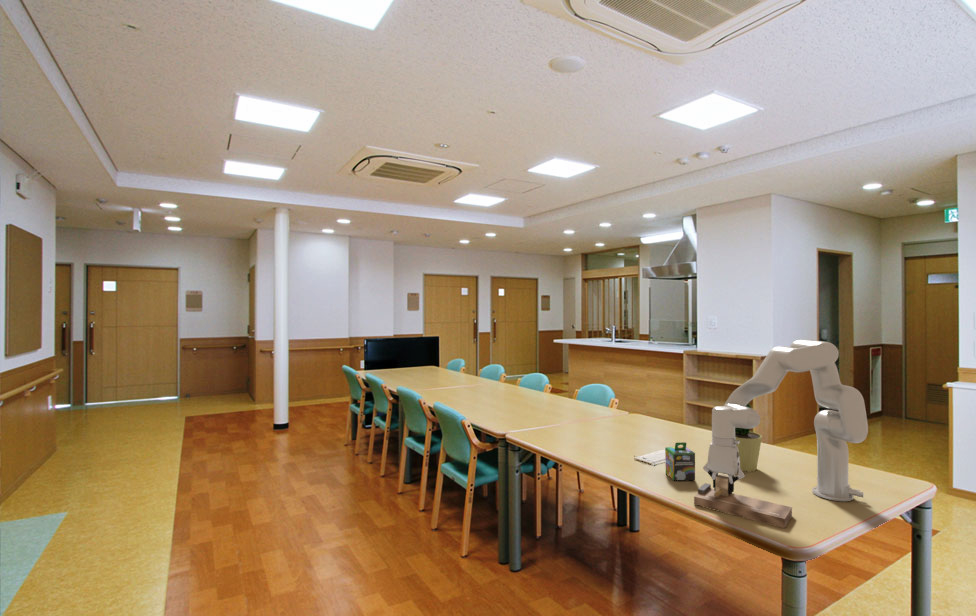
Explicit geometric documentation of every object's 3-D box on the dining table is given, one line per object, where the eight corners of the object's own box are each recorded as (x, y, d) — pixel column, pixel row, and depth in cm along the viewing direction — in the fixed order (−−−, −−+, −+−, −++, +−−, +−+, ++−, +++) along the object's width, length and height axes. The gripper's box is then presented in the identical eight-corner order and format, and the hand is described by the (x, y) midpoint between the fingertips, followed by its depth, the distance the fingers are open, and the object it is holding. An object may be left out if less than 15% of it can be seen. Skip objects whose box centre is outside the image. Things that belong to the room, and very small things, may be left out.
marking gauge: (732, 497, 178) (732, 475, 178) (722, 507, 169) (722, 483, 169) (720, 494, 180) (720, 473, 180) (710, 503, 171) (710, 481, 171)
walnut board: (791, 516, 164) (791, 502, 164) (784, 528, 155) (784, 514, 155) (705, 495, 183) (705, 483, 183) (694, 504, 174) (694, 492, 174)
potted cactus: (717, 467, 213) (717, 399, 213) (728, 459, 225) (728, 394, 224) (756, 476, 203) (756, 404, 203) (765, 467, 214) (766, 399, 214)
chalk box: (686, 473, 206) (686, 438, 206) (696, 481, 197) (696, 444, 197) (664, 473, 206) (664, 438, 206) (673, 481, 197) (673, 445, 197)
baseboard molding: (696, 455, 233) (673, 449, 243) (696, 449, 233) (673, 443, 243) (656, 468, 215) (634, 461, 225) (656, 461, 215) (634, 454, 225)
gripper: (751, 443, 174) (751, 494, 174) (702, 435, 185) (702, 483, 185) (746, 448, 168) (746, 501, 168) (696, 439, 179) (696, 489, 179)
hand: (723, 491), depth 176 cm, fingers closed on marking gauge, 3 cm apart
